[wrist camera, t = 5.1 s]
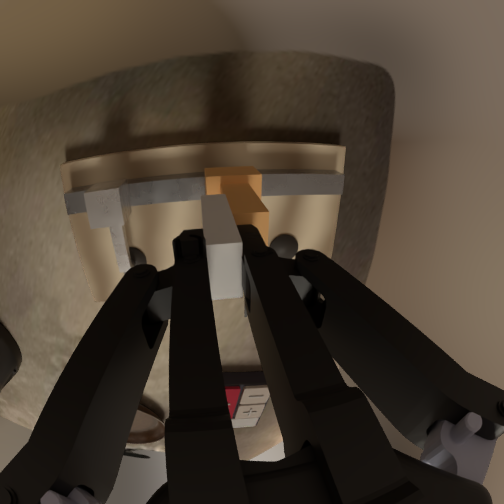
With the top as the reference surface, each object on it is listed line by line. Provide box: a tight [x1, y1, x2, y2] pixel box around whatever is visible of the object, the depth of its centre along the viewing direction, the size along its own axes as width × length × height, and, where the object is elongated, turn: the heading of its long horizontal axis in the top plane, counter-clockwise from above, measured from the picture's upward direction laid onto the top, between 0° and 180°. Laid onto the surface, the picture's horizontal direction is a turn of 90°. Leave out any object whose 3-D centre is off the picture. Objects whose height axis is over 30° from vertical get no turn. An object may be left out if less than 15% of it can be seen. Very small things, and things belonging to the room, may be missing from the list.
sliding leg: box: [205, 166, 269, 246], centre depth 21 cm, size 4×10×11 cm, turn 179°
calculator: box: [222, 371, 270, 428], centre depth 43 cm, size 11×4×15 cm
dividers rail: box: [64, 169, 345, 274], centre depth 24 cm, size 26×10×5 cm, turn 89°
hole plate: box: [60, 141, 346, 302], centre depth 27 cm, size 28×16×2 cm, turn 89°
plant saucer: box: [127, 404, 165, 444], centre depth 41 cm, size 21×21×3 cm
